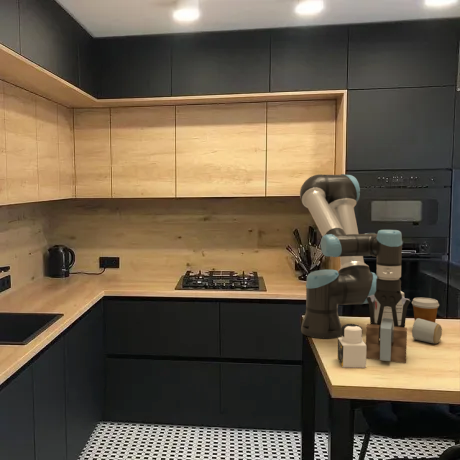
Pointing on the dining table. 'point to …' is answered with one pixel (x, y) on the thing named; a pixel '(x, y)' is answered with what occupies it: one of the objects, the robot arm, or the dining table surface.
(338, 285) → the robot arm
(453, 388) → the dining table surface
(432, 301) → the disposable coffee cup
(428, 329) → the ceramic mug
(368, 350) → the walnut stand
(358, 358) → the medicine bottle
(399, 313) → the supplement box
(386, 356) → the slate plate
